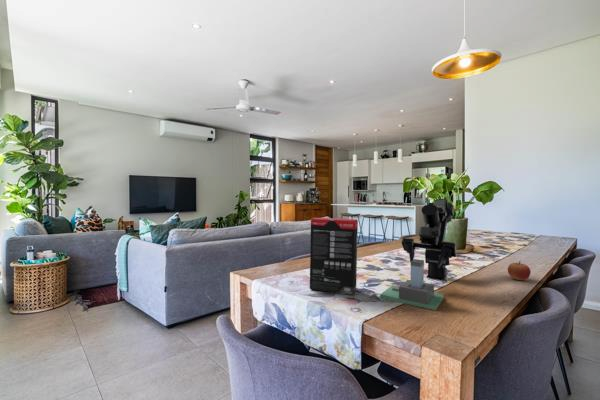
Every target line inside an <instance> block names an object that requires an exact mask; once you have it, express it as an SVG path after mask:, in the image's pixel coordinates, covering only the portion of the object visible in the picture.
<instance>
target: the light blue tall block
mask: <svg viewBox="0 0 600 400" xmlns="http://www.w3.org/2000/svg"><path fill="white" fill-rule="evenodd" d="M424 267H425V260H424V259H415V258H414V259H413V260H412V261H411V263H410V280H411V283H410V287H414V288H419V289H422V288H423V284H424V283H425V281H424V280H425V279H424V277H425V275H424V274H425V268H424Z"/></svg>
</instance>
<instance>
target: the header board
mask: <svg viewBox="0 0 600 400" xmlns="http://www.w3.org/2000/svg"><path fill="white" fill-rule="evenodd" d="M410 283H411V279H407V280H405V281H403V283H402V284H401V285H396V284H395V285H394V284H391V285H390V286H389V287H388V288H387V289H385V290H384V291H382V293H380V294H379V298H380V299H385V300H388V301H392V302H397V303H402V304H405V305H409V306H410V305H411V306H415V307H419V308H422V309H423V308H424V309H428V310H432V311H437V309H438V308H439V306H440V304H441V303H442V302H443V300H444V296H445V295H444V294H441V293H435V284H434V283H433V284H432V283H428V282H424V284H423V288H422V289H419V288H414V287H410Z"/></svg>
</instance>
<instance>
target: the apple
mask: <svg viewBox="0 0 600 400" xmlns="http://www.w3.org/2000/svg"><path fill="white" fill-rule="evenodd" d="M507 266H508V267H507V273H508V275H509V276H510V277H511V278H512V279H514V280H516V281H526V280H528V279H529V278H530V277H531V276H530V275H531V273H532V272H531V269H530V267H529V266H528V265H527V264H524V263H521V260H520V261H519V262H511V263H510V264H509V265H507Z"/></svg>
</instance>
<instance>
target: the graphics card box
mask: <svg viewBox="0 0 600 400" xmlns="http://www.w3.org/2000/svg"><path fill="white" fill-rule="evenodd" d="M358 224H359V219H356V218H355V219H354V218H353V219H351V218H338V217H337V218H334V217H333V218H332V217H311V218H310V250H309V251H310V252H309V253H310V256H309V258H310V259H309V289H310V290H314V291H320V290H321V292H327V291H328V292H330V293H334V294H335V293H336V294H342V295H349V296H354V294H355V293H356V290H357V270H358V269H357V268H358V267H357V266H358V264H357V263H358V226H359V225H358Z"/></svg>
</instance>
